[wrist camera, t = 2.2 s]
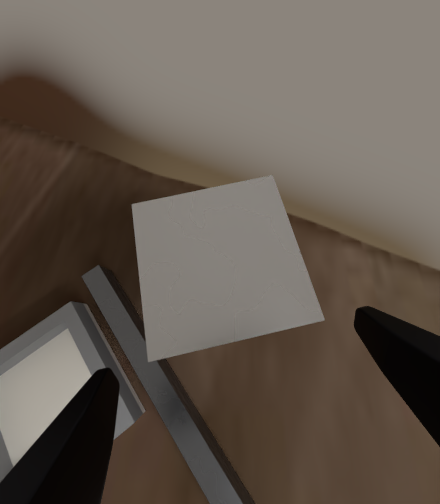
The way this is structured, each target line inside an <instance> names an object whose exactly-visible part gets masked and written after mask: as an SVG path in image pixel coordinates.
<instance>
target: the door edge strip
mask: <svg viewBox="0 0 440 504" xmlns="http://www.w3.org/2000/svg"><path fill="white" fill-rule="evenodd" d="M82 278H83V280H84V282H85V284H86V285H87V287H88V289H89V291H90V292H91V294H92V296H93V298H94V299H95V301H96V303H97V305H98V306H99V308H100V310H101V312H102V314H103V315H104V317H105V319H106V321H107V322H108V324H109V326H110V328H111V329H112V331H113V333H114V335H115V337H116V338H117V340H118V342H119V344H120V345H121V347H122V349H123V351H124V352H125V354H126V356H127V358H128V360H129V361H130V363H131V365H132V367H133V368H134V370H135V372H136V374H137V375H138V377H139V379H140V381H141V383H142V384H143V386H144V388H145V390H146V391H147V393H148V395H149V397H150V398H151V400H152V402H153V404H154V405H155V407H156V409H157V411H158V413H159V414H160V416H161V418H162V420H163V421H164V423H165V425H166V427H167V428H168V430H169V432H170V434H171V436H172V437H173V439H174V441H175V443H176V444H177V446H178V448H179V450H180V451H181V453H182V455H183V457H184V459H185V460H186V462H187V464H188V466H189V467H190V469H191V471H192V473H193V474H194V476H195V478H196V480H197V482H198V483H199V485H200V487H201V489H202V490H203V492H204V494H205V496H206V497H207V499H208V501H209V503H210V504H255V503H254V501H253V500H252V498H251V496H250V495H249V493H248V491H247V490H246V488H245V487H244V485H243V483H242V482H241V480H240V478H239V477H238V475H237V474H236V472H235V470H234V469H233V467H232V466H231V464H230V462H229V461H228V459H227V457H226V456H225V454H224V453H223V451H222V449H221V448H220V446H219V445H218V443H217V441H216V440H215V438H214V436H213V435H212V433H211V432H210V430H209V428H208V427H207V425H206V423H205V422H204V420H203V419H202V417H201V415H200V414H199V412H198V411H197V409H196V407H195V406H194V404H193V402H192V401H191V399H190V398H189V396H188V394H187V393H186V391H185V390H184V388H183V386H182V385H181V383H180V381H179V380H178V378H177V377H176V375H175V373H174V372H173V370H172V368H171V367H170V365H169V364H168V362H167V360H166V359H165V358H164V359H160V360H155V361H151V362H148V357H147V347H146V338H145V328H144V323H143V322H142V320H141V318H140V317H139V315H138V313H137V312H136V310H135V309H134V307H133V305H132V304H131V302H130V301H129V299H128V297H127V296H126V294H125V292H124V291H123V289H122V288H121V286H120V284H119V283H118V281H117V279H116V278H115V276H114V275H113V273H112V271H110V270H108V269H106V268H104V267H102V266H100V265H98V266H96V267H95V268H93V269H92V270H90V271H89V272H87V273H86V274H84V275H83V276H82Z"/></svg>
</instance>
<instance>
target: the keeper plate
mask: <svg viewBox="0 0 440 504" xmlns="http://www.w3.org/2000/svg"><path fill="white" fill-rule="evenodd" d="M107 367H109V368H111V369H112V371H113V372H114V374H115V376H116V377H117V379H118V381H119V384H120V390H119V399H118V408H117V417H116V426H115V434H114V439H115V438H116V437H118V436H119V435H120V434H121V433H122V432H124V431H125V430H126V429H127V428H128V427H130V426H131V425H132V424H133V423H134V422H135V421H136V420H137V419H138V418H139V417H140V416H141V415H142V414H143V413H144V412H145V409H144V407H143V405H142V403H141V402H140V400H139V398H138V396H137V394H136V393H135V391H134V389H133V387H132V385H131V383H130V382H129V380H128V378H127V376H126V374H125V373H124V371H123V369H122V367H121V365H120V363H119V362H118V360H117V358H116V356H115V354H114V353H113V351H112V349H111V347H110V345H109V343H108V342H107V340H106V338H105V336H104V334H103V333H102V331H101V329H100V327H99V325H98V323H97V322H96V320H95V318H94V316H93V314H92V313H91V311H90V309H89V307H88V305H87V304H84V303H78V302H72V301H70V302H69V303H68V304H66V305H65V306H63V307H62V308H60V309H59V310H57V311H56V312H54V313H53V314H51V315H50V316H49V317H47V318H46V319H44V320H43V321H41V322H40V323H38V324H37V325H35V326H34V327H32V328H31V329H30V330H28V331H27V332H25V333H24V334H22V335H21V336H19V337H18V338H16V339H15V340H14V341H12V342H11V343H9V344H8V345H6V346H5V347H3V348H2V349H0V482H1V481H2V480H3V479H4V477H5V476H6V475H7V474H8V473H9V472H10V470H11V469H12V468H13V467H14V466H15V465H16V463H17V462H18V461H19V460H20V459H21V458H22V456H23V455H24V454H25V453H26V452H27V451H28V449H29V448H30V447H31V446H32V445H33V444H34V442H35V441H36V440H37V439H38V438H39V437H40V435H41V434H42V433H43V432H44V431H45V430H46V428H47V427H48V426H49V425H50V424H51V423H52V421H53V420H54V419H55V418H56V417H57V416H58V414H59V413H60V412H61V411H62V410H63V409H64V407H65V406H66V405H67V404H68V403H69V402H70V400H71V399H72V398H73V397H74V396H75V395H76V393H77V392H78V391H79V390H80V389H81V388H82V386H83V385H84V384H85V383H86V382H87V381H88V379H89V378H90V377H91V376H92V375H93V374H94V372H95V371H97V370H99V369H102V368H107Z"/></svg>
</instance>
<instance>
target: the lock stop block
mask: <svg viewBox="0 0 440 504" xmlns="http://www.w3.org/2000/svg"><path fill="white" fill-rule="evenodd" d="M132 213H133V223H134V232H135V242H136V251H137V261H138V271H139V280H140V290H141V299H142V309H143V319H144V328H145V338H146V347H147V357H148V362H151V361H155V360H160V359H164V358H168V357H172V356H176V355H181V354H185V353H189V352H193V351H197V350H202V349H206V348H210V347H214V346H218V345H223V344H227V343H231V342H235V341H239V340H244V339H248V338H252V337H256V336H260V335H265V334H269V333H273V332H277V331H281V330H286V329H290V328H294V327H298V326H303V325H307V324H311V323H315V322H319V321H324V320H325V319H324V316H323V314H322V311H321V308H320V305H319V303H318V300H317V297H316V294H315V291H314V289H313V286H312V283H311V280H310V278H309V275H308V272H307V269H306V266H305V264H304V261H303V258H302V255H301V253H300V250H299V247H298V244H297V241H296V239H295V236H294V233H293V230H292V228H291V225H290V222H289V219H288V216H287V214H286V211H285V208H284V205H283V203H282V200H281V197H280V194H279V191H278V189H277V186H276V183H275V180H274V178H273V176H272V175H271V176H266V177H261V178H257V179H251V180H246V181H242V182H237V183H232V184H227V185H222V186H217V187H213V188H208V189H203V190H198V191H193V192H189V193H184V194H179V195H174V196H169V197H164V198H160V199H155V200H150V201H145V202H140V203H136V204H132Z"/></svg>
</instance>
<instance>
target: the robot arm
mask: <svg viewBox="0 0 440 504" xmlns="http://www.w3.org/2000/svg"><path fill="white" fill-rule="evenodd" d="M354 328H355V330H356V332H357V334H358V335H359V337H360V338H361V340H362V342H363V343H364V345H365V346H366V348H367V349H368V351H369V353H370V354H371V356H372V357H373V359H374V360H375V362H376V364H377V365H378V367H379V368H380V370H381V371H382V372H383V374H384V375H385V376H386V378H387V379H388V380H389V382H390V383H391V384H392V386H393V387H394V388H395V390H396V391H397V392H398V393H399V395H400V396H401V397H402V399H403V400H404V401H405V402H406V404H407V405H408V406H409V408H410V409H411V410H412V412H413V413H414V414H415V415H416V417H417V418H418V419H419V421H420V422H421V423H422V425H423V426H424V427H425V428H426V430H427V431H428V432H429V434H430V435H431V436H432V438H433V439H434V440H435V441H436V443H437V444H438V445H439V447H440V336H438V335H436V334H434V333H431V332H429V331H426V330H424V329H422V328H419V327H417V326H415V325H412V324H410V323H408V322H405V321H403V320H401V319H398V318H396V317H394V316H391V315H389V314H387V313H384V312H382V311H380V310H377V309H375V308H373V307H370V306H364V307H360V308H357V309H356V312H355V319H354ZM119 390H120V384H119V381H118V379H117V377H116V376H115V374H114V372H113V371H112V369H111V368H109V367H107V368H102V369H99V370H97V371H95V372H94V374H93V375H92V376H91V377H90V378H89V379H88V381H87V382H86V383H85V384H84V385H83V386H82V388H81V389H80V390H79V391H78V392H77V393H76V395H75V396H74V397H73V398H72V399H71V400H70V402H69V403H68V404H67V405H66V406H65V407H64V409H63V410H62V411H61V412H60V413H59V414H58V416H57V417H56V418H55V419H54V420H53V421H52V423H51V424H50V425H49V426H48V427H47V428H46V430H45V431H44V432H43V433H42V434H41V435H40V437H39V438H38V439H37V440H36V441H35V442H34V444H33V445H32V446H31V447H30V448H29V449H28V451H27V452H26V453H25V454H24V455H23V456H22V458H21V459H20V460H19V461H18V462H17V463H16V465H15V466H14V467H13V468H12V469H11V470H10V472H9V473H8V474H7V475H6V476H5V477H4V479H3V480H2V481H1V482H0V504H101V499H102V494H103V489H104V485H105V480H106V475H107V470H108V465H109V460H110V456H111V451H112V446H113V440H114V434H115V426H116V417H117V408H118V399H119Z"/></svg>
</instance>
